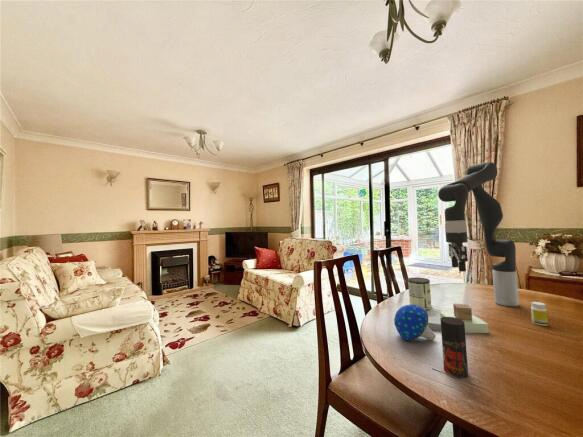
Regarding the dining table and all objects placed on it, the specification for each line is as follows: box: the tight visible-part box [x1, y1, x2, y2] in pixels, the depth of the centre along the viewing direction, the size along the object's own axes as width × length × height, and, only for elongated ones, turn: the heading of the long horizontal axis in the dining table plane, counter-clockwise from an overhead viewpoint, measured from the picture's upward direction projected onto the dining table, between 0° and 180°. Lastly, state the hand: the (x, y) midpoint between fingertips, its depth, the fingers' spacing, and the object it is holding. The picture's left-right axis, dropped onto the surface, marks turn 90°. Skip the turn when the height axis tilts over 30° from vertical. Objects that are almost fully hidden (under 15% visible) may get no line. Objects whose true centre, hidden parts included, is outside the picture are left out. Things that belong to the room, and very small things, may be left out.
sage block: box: [439, 311, 489, 334], centre depth 98 cm, size 12×12×4 cm
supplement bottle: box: [530, 301, 549, 327], centre depth 96 cm, size 5×5×8 cm
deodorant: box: [439, 317, 469, 379], centre depth 69 cm, size 6×6×15 cm
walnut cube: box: [453, 303, 473, 321], centre depth 97 cm, size 5×5×5 cm
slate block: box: [427, 316, 441, 332], centre depth 98 cm, size 7×7×3 cm
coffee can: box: [407, 276, 433, 311], centre depth 122 cm, size 10×10×14 cm
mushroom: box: [393, 304, 437, 342], centre depth 89 cm, size 14×14×15 cm
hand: (458, 269), depth 98 cm, fingers open, 8 cm apart
